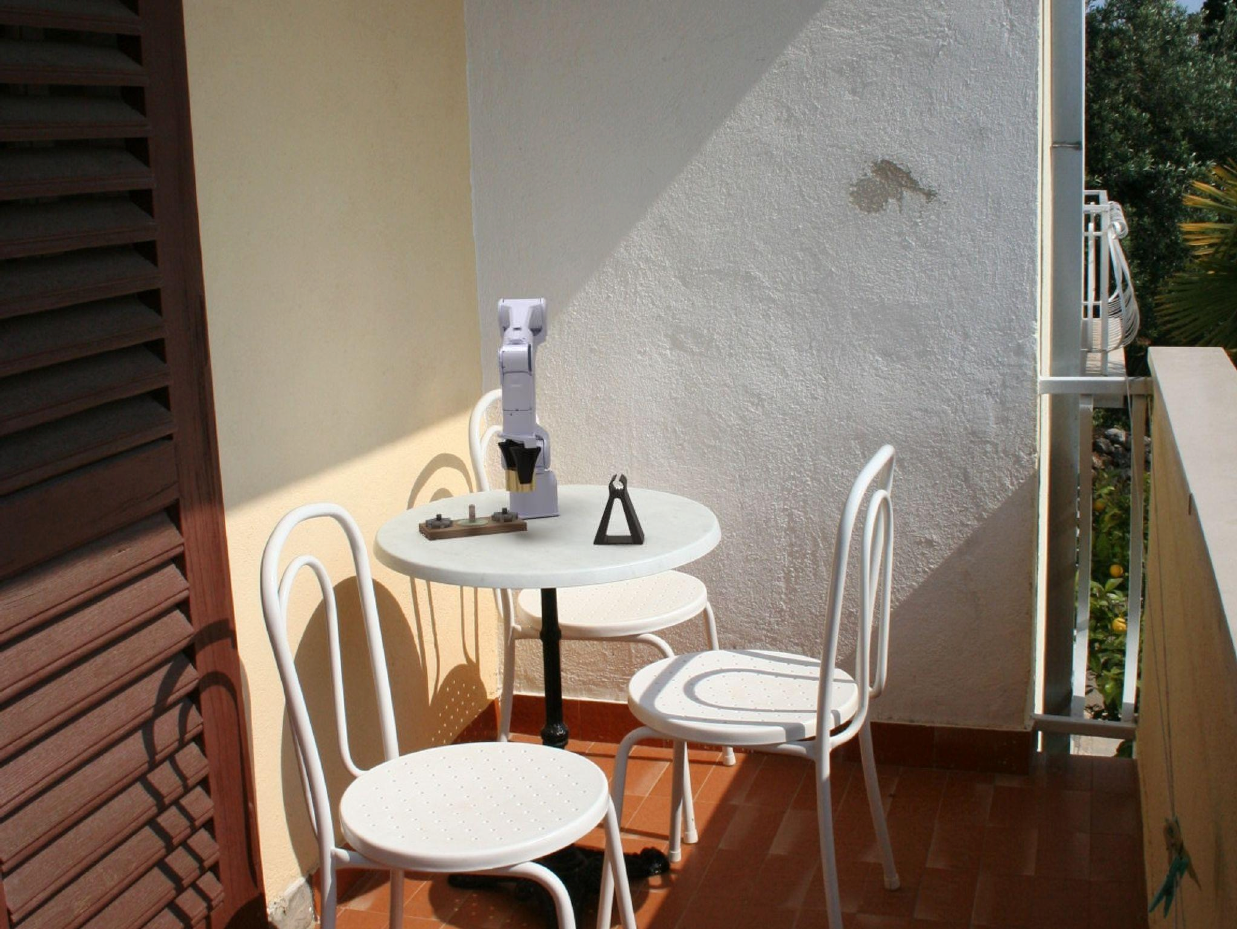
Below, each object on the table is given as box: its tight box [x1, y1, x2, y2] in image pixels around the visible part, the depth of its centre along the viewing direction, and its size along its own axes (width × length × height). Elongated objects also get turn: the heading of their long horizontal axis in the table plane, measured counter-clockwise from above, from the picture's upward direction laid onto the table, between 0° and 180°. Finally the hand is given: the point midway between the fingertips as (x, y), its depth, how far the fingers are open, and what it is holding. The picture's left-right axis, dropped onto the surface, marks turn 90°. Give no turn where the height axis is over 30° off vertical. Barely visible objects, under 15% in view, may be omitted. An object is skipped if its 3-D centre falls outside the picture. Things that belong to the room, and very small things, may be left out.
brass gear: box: [504, 466, 536, 492], centre depth 230 cm, size 6×6×4 cm
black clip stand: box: [593, 473, 645, 546], centre depth 225 cm, size 9×6×12 cm, turn 85°
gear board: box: [418, 503, 528, 541], centre depth 236 cm, size 19×9×5 cm, turn 112°
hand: (520, 481), depth 230 cm, fingers closed on brass gear, 6 cm apart
